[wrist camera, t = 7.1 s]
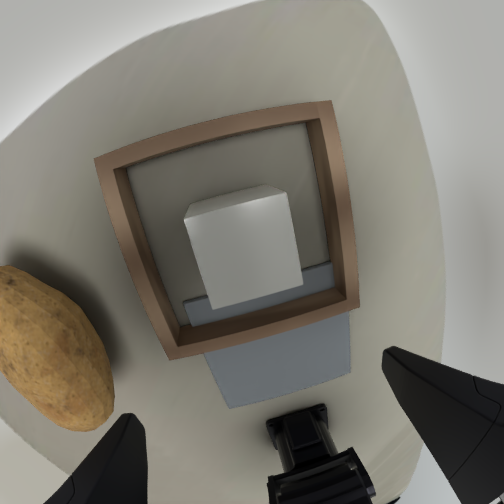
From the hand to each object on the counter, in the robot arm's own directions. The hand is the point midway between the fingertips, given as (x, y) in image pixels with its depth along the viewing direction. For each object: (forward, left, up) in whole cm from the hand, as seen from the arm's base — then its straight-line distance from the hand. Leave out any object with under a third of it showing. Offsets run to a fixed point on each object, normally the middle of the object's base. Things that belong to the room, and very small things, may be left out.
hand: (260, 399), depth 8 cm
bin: (+3, -1, -12) cm, 12 cm away
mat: (-7, -2, -12) cm, 14 cm away
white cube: (+3, -1, -12) cm, 12 cm away
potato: (0, +15, -12) cm, 19 cm away
